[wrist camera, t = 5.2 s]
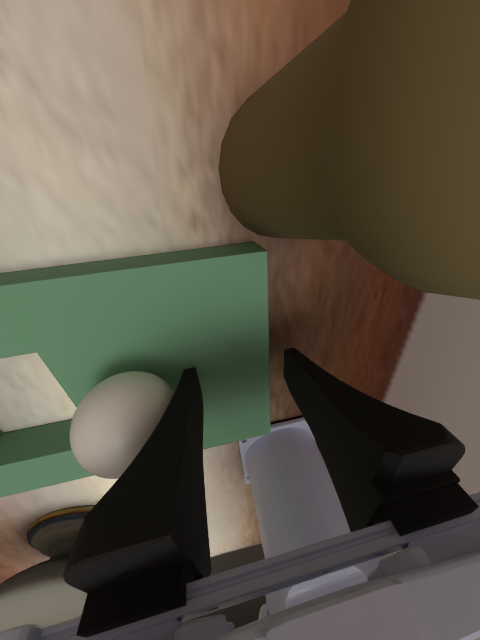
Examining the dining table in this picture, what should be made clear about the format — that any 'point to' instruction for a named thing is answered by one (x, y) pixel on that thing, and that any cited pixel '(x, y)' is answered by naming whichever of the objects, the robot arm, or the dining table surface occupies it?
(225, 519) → the dining table surface
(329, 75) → the cork
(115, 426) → the egg
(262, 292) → the green
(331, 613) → the robot arm
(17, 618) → the apothecary jar
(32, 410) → the dining table surface
